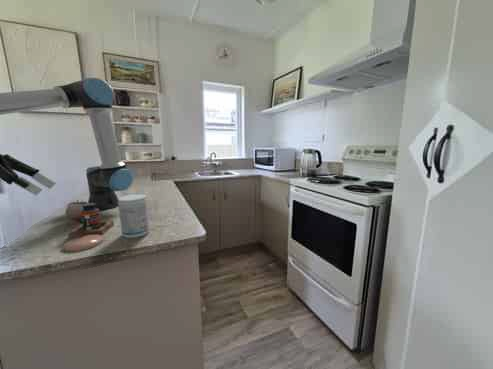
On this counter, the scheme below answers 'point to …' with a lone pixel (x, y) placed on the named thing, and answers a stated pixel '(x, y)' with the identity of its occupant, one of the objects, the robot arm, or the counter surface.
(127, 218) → the supplement tub
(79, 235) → the holder
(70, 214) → the decorative fruit
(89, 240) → the peach dome coaster
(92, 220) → the supplement bottle
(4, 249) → the counter surface
